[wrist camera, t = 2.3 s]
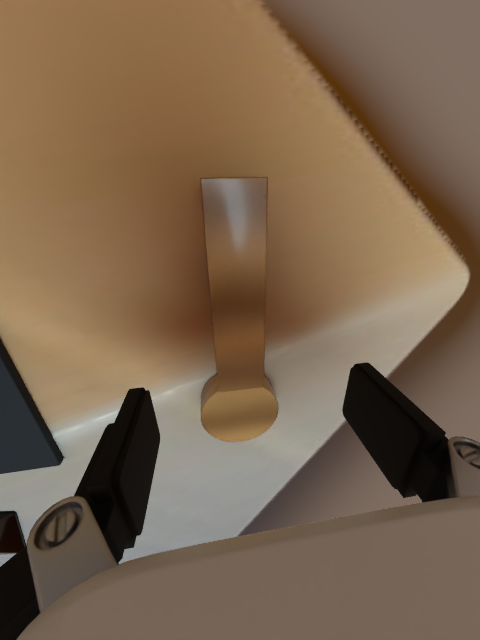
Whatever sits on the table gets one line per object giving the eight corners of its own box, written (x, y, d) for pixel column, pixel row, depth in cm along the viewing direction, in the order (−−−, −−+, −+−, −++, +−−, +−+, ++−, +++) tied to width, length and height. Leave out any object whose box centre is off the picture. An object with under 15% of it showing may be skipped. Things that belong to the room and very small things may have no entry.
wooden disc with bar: (173, 185, 13) (164, 178, 10) (279, 183, 13) (300, 176, 11) (204, 426, 21) (204, 461, 18) (270, 417, 21) (281, 449, 18)
